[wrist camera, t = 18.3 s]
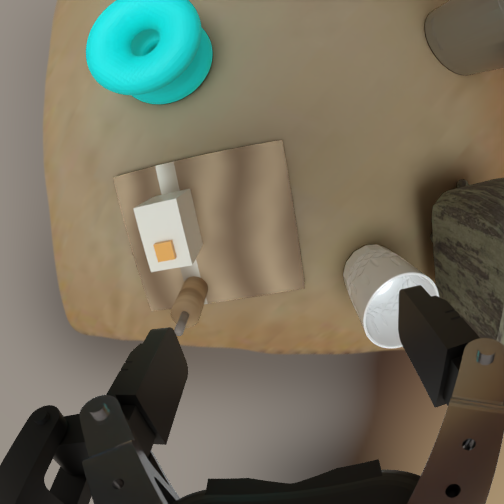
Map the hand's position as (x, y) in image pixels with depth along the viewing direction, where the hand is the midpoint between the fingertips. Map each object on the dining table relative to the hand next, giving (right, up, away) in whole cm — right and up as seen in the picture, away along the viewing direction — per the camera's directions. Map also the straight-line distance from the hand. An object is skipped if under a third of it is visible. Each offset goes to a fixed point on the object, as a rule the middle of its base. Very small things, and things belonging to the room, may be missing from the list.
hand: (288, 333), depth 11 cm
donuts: (-10, +23, +18) cm, 31 cm away
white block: (-9, +6, +22) cm, 24 cm away
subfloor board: (-6, +5, +24) cm, 25 cm away
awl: (-7, -1, +24) cm, 26 cm away
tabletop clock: (+23, +5, +23) cm, 33 cm away
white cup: (+13, +1, +25) cm, 28 cm away
